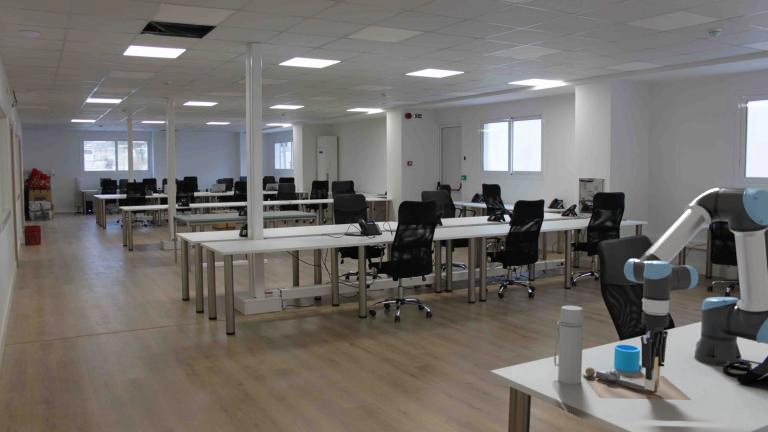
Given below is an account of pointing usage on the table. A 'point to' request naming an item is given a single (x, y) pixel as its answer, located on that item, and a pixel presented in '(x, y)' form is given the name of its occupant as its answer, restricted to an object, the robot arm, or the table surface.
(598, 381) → the nutcracker base
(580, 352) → the water bottle
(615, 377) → the lever
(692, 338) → the table surface
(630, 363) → the mug
